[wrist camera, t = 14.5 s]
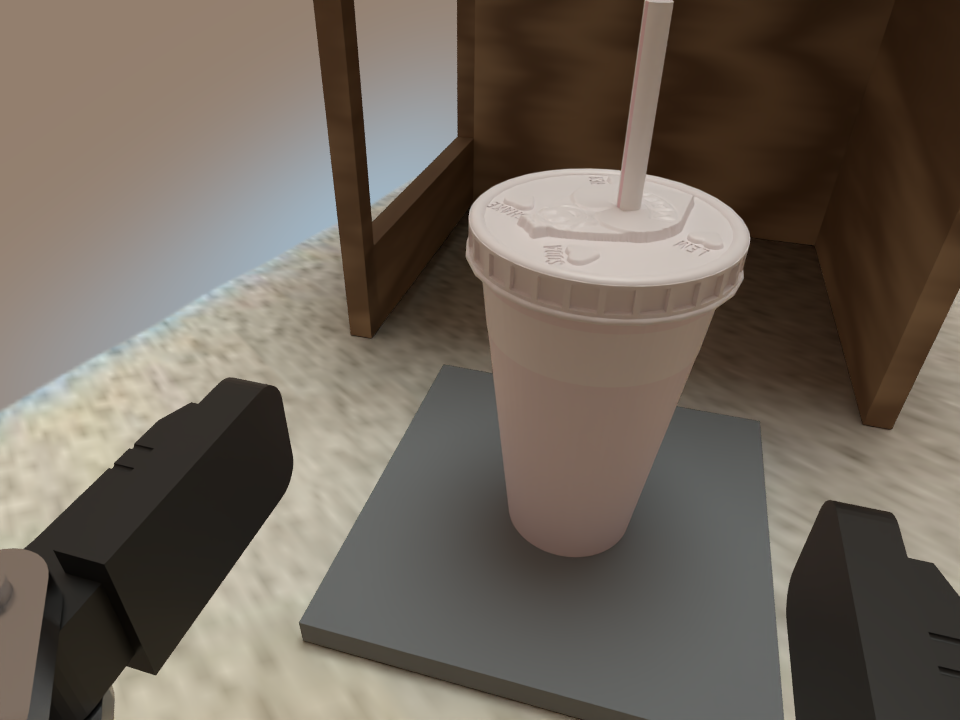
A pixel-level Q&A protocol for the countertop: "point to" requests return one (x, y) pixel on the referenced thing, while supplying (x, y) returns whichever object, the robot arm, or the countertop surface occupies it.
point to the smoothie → (597, 320)
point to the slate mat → (564, 576)
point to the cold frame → (699, 145)
